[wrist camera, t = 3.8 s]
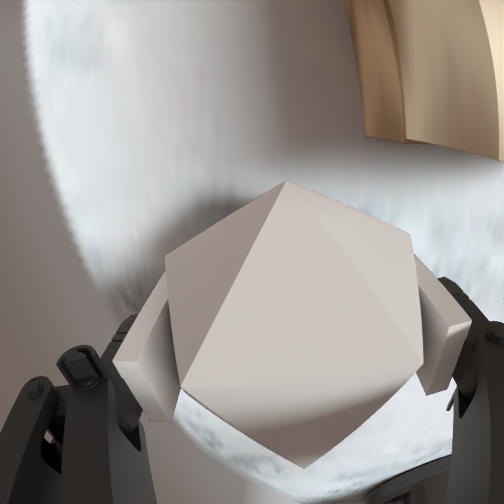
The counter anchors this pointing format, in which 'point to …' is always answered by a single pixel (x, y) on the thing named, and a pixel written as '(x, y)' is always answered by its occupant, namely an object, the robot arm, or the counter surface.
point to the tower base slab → (378, 69)
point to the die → (295, 319)
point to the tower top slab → (452, 72)
